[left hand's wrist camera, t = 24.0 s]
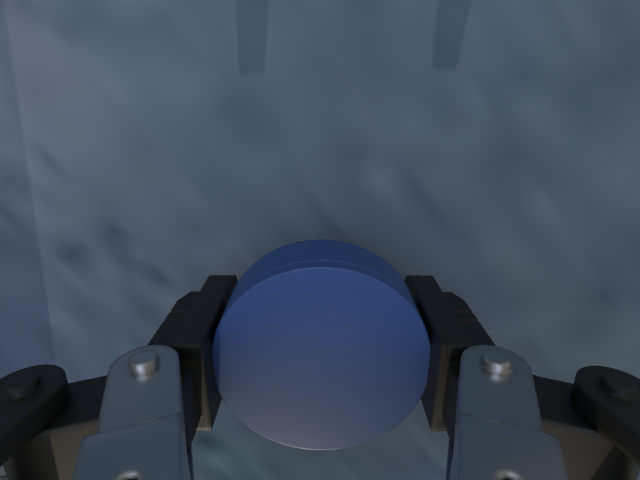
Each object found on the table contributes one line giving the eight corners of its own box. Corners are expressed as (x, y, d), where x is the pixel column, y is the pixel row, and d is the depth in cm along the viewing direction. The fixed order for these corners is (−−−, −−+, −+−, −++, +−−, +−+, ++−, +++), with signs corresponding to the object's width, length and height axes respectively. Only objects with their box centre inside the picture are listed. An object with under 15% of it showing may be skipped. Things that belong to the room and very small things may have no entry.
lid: (455, 314, 11) (478, 353, 9) (333, 429, 12) (335, 480, 10) (305, 197, 9) (303, 219, 8) (190, 338, 11) (167, 381, 9)
